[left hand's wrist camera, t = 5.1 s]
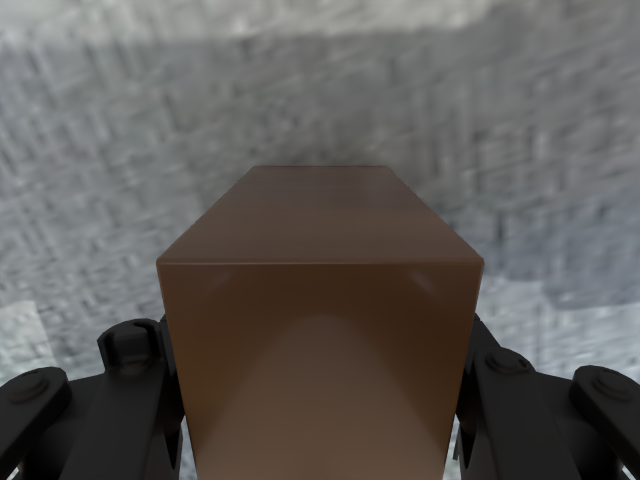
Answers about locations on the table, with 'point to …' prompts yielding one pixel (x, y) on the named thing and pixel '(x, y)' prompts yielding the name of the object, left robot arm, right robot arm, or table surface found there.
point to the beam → (320, 327)
